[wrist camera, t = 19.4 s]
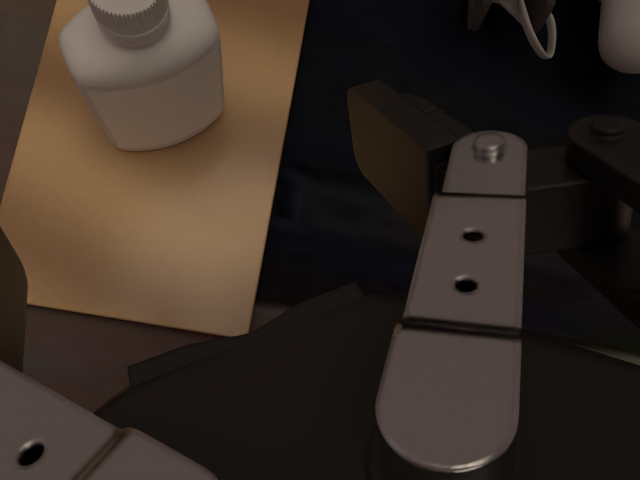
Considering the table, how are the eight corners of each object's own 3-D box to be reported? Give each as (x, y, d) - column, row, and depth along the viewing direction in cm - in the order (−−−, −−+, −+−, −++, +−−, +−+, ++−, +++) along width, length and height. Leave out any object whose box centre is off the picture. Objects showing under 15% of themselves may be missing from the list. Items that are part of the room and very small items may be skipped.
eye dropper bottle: (218, 164, 28) (206, 35, 16) (97, 149, 27) (-8, 4, 15) (228, 79, 29) (223, -103, 17) (110, 63, 28) (20, -138, 16)
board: (88, -85, 30) (83, -99, 29) (315, -31, 31) (317, -43, 30) (-16, 297, 26) (-26, 295, 25) (247, 340, 28) (247, 340, 27)
